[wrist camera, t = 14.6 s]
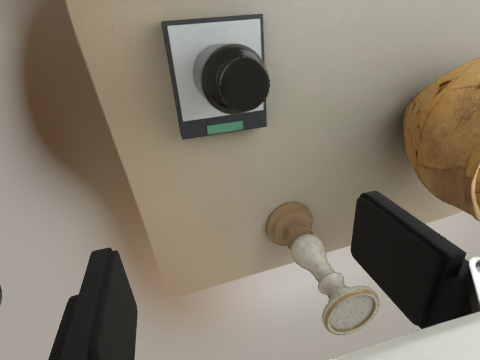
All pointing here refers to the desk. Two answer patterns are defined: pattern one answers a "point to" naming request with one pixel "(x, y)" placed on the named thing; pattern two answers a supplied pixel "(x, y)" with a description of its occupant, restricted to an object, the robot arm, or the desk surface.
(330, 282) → the candle holder
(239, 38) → the scale
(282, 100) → the desk surface
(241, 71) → the supplement bottle
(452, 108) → the bowl
